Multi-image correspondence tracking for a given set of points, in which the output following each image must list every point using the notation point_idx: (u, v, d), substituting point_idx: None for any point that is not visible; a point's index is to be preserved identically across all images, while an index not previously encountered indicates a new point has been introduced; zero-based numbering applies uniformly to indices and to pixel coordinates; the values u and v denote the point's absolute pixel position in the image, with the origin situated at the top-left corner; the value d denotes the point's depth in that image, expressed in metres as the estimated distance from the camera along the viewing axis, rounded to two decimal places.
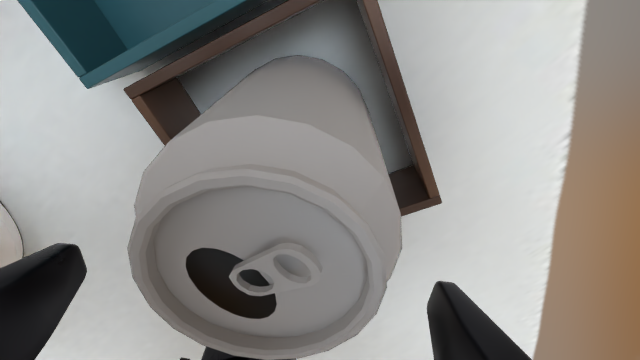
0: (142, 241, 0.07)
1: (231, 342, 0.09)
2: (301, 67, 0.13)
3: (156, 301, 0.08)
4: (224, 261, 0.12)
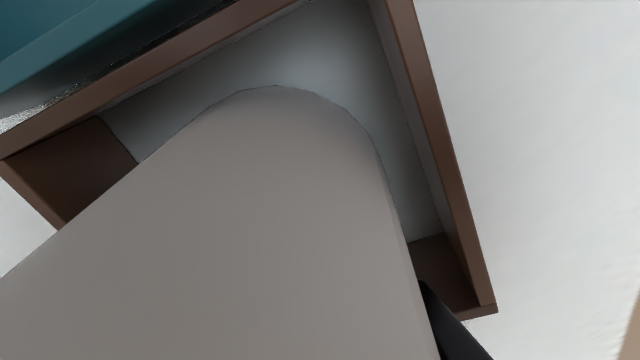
0: None
1: None
2: (272, 117, 0.07)
3: None
4: None
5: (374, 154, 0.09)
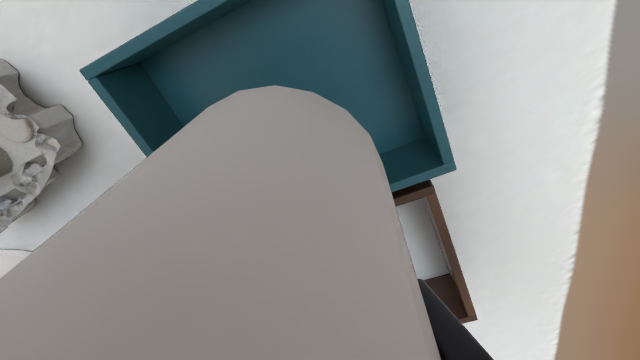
0: None
1: None
2: (272, 117, 0.07)
3: None
4: None
5: (374, 154, 0.09)
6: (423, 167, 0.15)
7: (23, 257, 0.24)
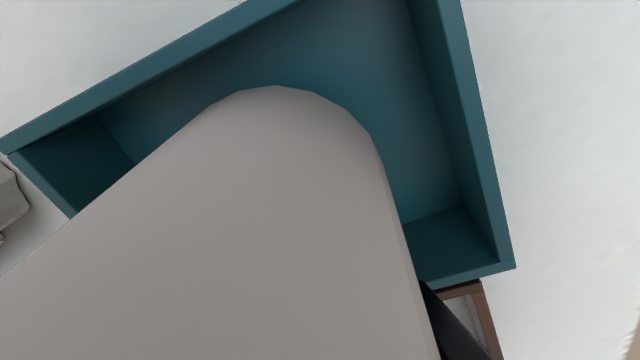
0: None
1: None
2: (271, 117, 0.07)
3: None
4: None
5: (374, 154, 0.09)
6: (470, 260, 0.12)
7: None
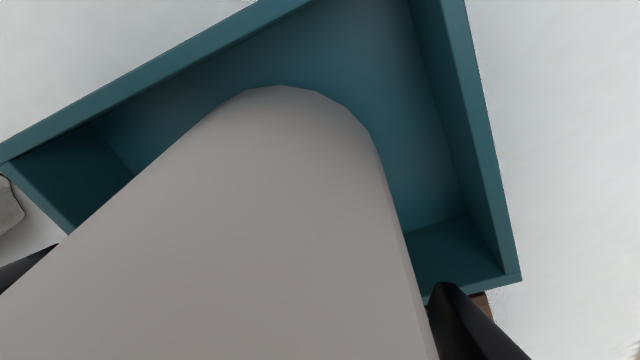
0: None
1: None
2: (279, 113, 0.08)
3: None
4: None
5: (372, 148, 0.10)
6: (474, 272, 0.11)
7: None
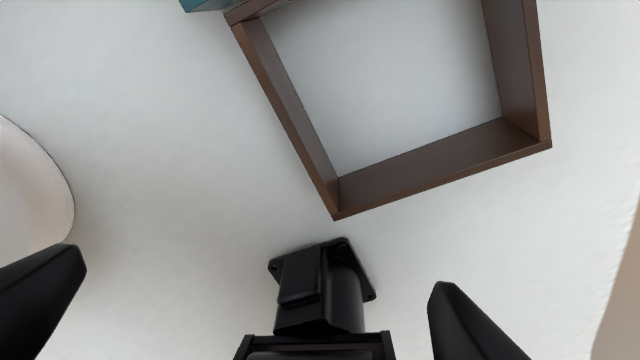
0: None
1: None
2: None
3: None
4: None
5: None
6: None
7: None
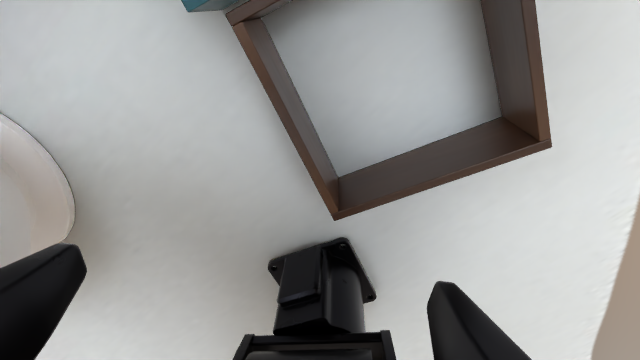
0: None
1: None
2: None
3: None
4: None
5: None
6: None
7: None
